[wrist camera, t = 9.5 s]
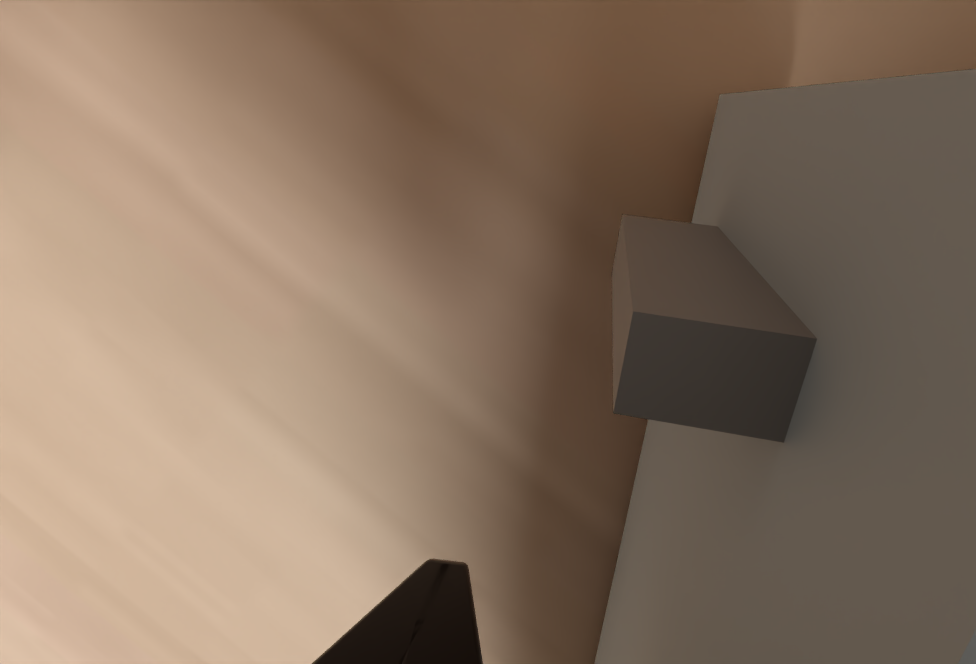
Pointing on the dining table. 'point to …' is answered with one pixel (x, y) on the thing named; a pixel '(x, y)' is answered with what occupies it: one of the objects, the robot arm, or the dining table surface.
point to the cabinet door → (805, 387)
